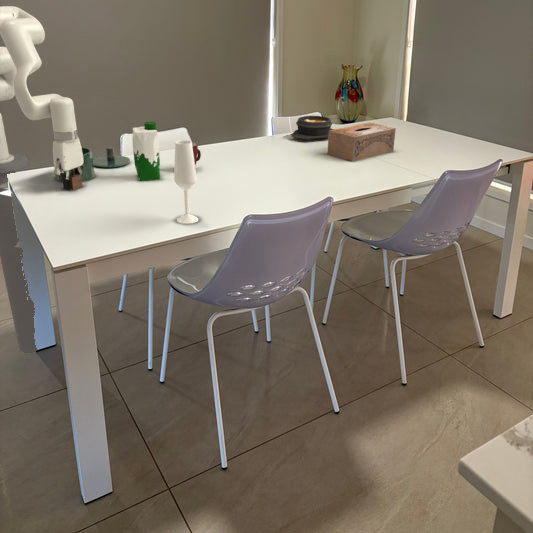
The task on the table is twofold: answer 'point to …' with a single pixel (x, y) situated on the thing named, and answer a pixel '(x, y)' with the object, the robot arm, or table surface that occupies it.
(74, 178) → the block
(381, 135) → the tissue box cover
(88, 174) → the pot
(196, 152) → the mug
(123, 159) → the lid
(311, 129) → the casserole
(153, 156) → the milk carton
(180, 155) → the champagne flute
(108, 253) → the table surface
